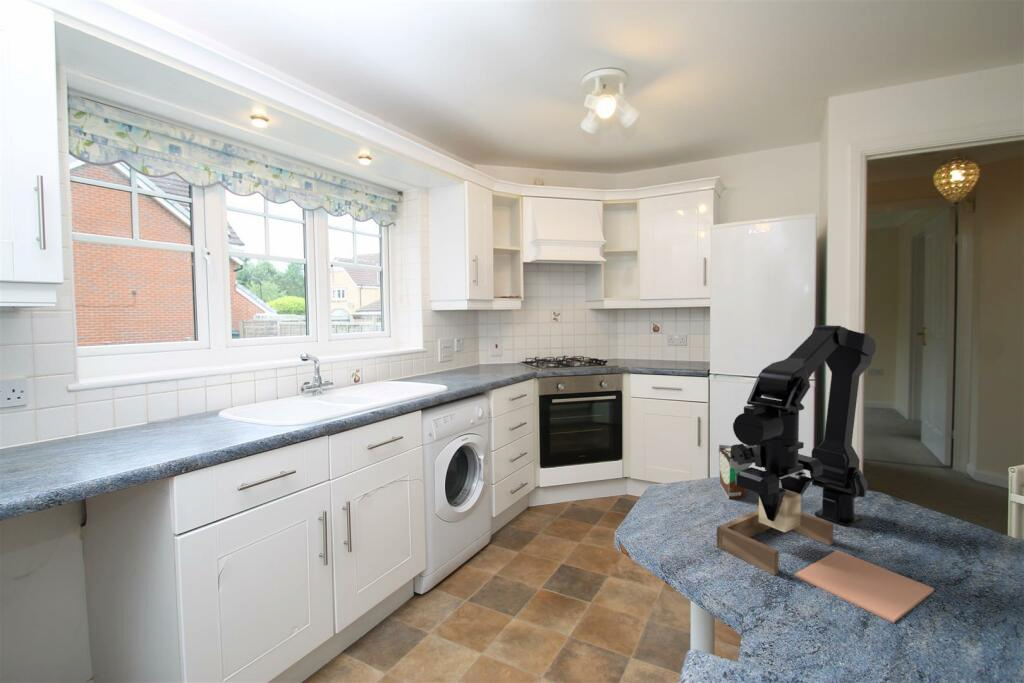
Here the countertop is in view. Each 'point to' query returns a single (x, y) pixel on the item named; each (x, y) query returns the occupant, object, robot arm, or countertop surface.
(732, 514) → the countertop surface
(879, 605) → the mat
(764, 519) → the maple block
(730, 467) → the food container
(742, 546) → the open side box
